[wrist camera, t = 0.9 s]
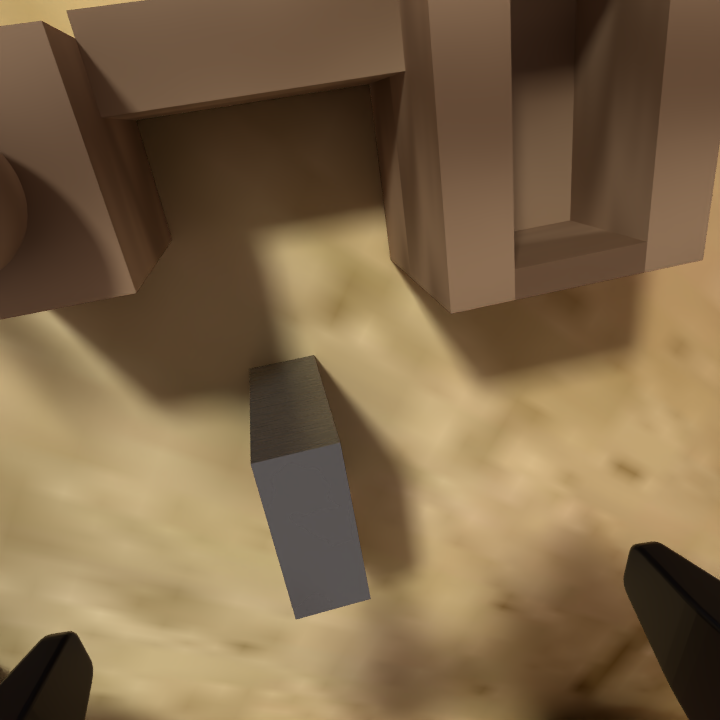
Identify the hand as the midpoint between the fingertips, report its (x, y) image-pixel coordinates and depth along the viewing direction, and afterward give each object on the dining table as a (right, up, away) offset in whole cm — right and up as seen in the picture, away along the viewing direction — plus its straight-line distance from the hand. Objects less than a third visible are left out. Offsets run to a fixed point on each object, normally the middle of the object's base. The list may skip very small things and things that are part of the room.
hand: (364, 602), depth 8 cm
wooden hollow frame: (-2, +11, +8) cm, 14 cm away
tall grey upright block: (-2, +1, +12) cm, 12 cm away
